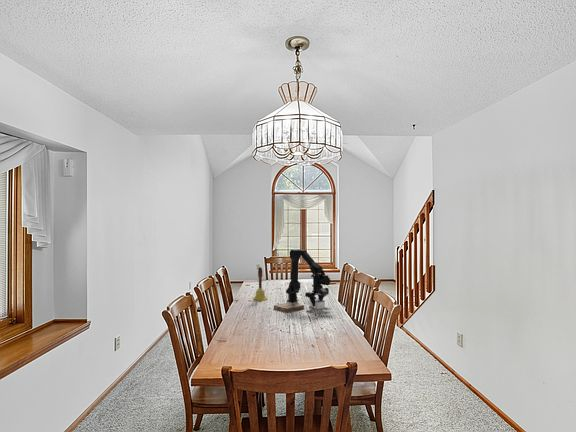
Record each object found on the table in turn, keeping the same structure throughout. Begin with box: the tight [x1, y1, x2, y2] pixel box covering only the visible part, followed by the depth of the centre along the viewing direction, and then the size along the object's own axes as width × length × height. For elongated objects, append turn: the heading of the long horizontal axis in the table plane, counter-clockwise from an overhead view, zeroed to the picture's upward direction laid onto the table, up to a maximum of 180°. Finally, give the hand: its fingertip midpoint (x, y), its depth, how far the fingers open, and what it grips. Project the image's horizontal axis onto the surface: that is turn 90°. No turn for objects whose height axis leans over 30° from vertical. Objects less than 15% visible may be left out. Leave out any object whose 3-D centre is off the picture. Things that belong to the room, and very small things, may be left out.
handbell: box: [252, 266, 269, 302], centre depth 307 cm, size 12×12×25 cm
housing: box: [309, 297, 326, 310], centre depth 280 cm, size 10×6×5 cm, turn 34°
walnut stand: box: [273, 301, 305, 313], centre depth 274 cm, size 14×16×2 cm
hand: (317, 305), depth 280 cm, fingers closed on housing, 6 cm apart
